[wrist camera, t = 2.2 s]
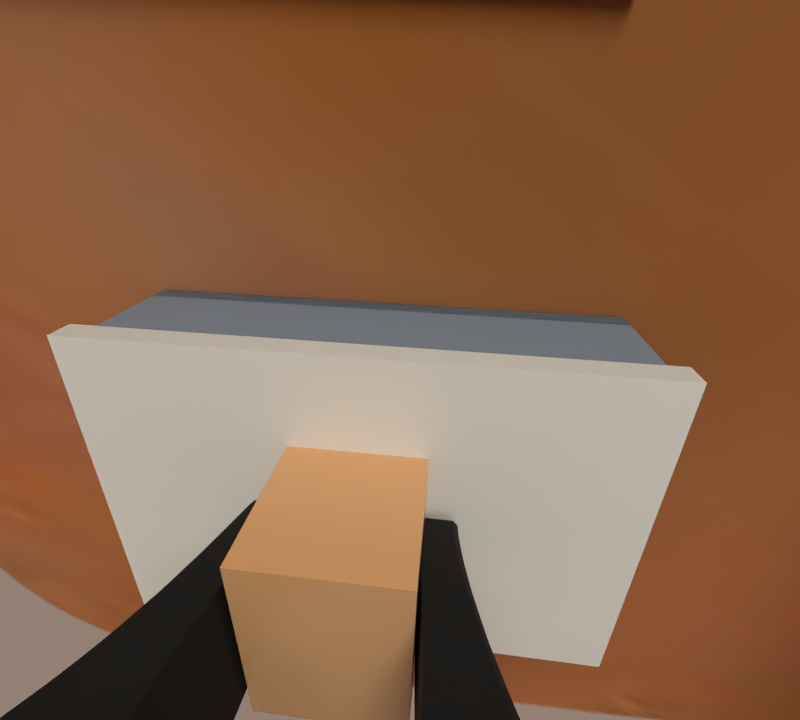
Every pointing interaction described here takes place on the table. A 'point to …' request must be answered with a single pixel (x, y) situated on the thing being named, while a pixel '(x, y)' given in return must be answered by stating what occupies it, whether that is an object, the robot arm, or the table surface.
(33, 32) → the table surface
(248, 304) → the tub
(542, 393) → the lid
